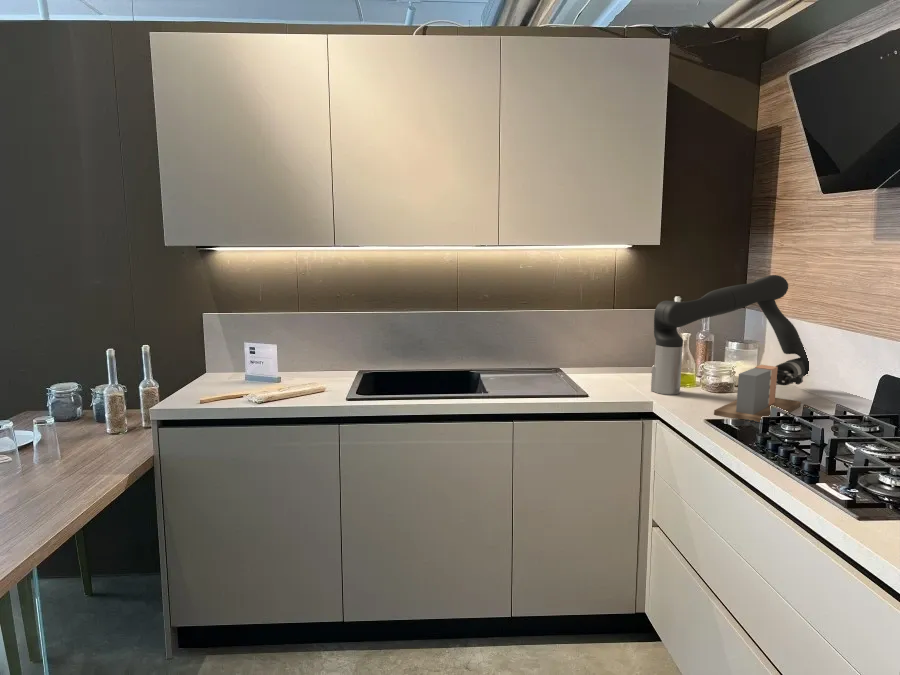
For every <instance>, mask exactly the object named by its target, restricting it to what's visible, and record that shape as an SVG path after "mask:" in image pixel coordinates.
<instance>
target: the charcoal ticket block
mask: <svg viewBox="0 0 900 675" xmlns="http://www.w3.org/2000/svg"><path fill="white" fill-rule="evenodd" d="M771 374H772V370H767V369H760V368H755V367H753V368H750V369H748V370H745V371H743V372H739V373H738V382H737V392H736V400H737V405H736V412H741V413H746V414H752V415H753V414H755V413H757V412H759V411H761V410H763V409H765V408H767V407H768V404H769V395H770V385H771V380H770V379H771Z"/></svg>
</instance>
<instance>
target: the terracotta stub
mask: <svg viewBox="0 0 900 675" xmlns="http://www.w3.org/2000/svg"><path fill="white" fill-rule="evenodd" d="M775 366H776V365H766V364H759V365H757V366H754V368H760V369H767V370H772V374H771V379H770V380H771V385H770V395H769V404H768V406H769V405H771V404H773V403H775V398H776V393H777V392H776V391H777V390H776V389H777V383H776V381H777V369H778V367H775Z"/></svg>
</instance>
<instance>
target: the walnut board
mask: <svg viewBox="0 0 900 675" xmlns="http://www.w3.org/2000/svg"><path fill="white" fill-rule="evenodd" d="M801 404H802V402H801V401H799V400H798V401H797V400H791V399H786V398H780V397H775V403H773V404H771V405H774V406H776V407H779V408H781V409H783V410H786V411H788V412H790V413H792V412H793V411H794V410H797V409H799V408H800V407H801V406H802V405H801ZM736 405H737V399H735V400H733V401H731V402H729V403H726V404H724V405H722V406H720V407H718V408H716V409H714V410H713V415H714V416H719V417H724V418H730V419H734V418H738V419H737V420H739V419H749V420H754V421H757V422H760V420H761V417H762V416H769V415H770V406H771V405H769V406H768V407H767V408H765V409H763V410H761V411H759V412H757V413H755V414H753V415H752V414H746V413H741V412H736Z"/></svg>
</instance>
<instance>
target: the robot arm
mask: <svg viewBox="0 0 900 675" xmlns="http://www.w3.org/2000/svg"><path fill="white" fill-rule="evenodd" d="M788 290H789V283H788V280H787V279H785V278H784V277H783V276H781V275H778V274H771V275H767V276H764V277H761V278H757V279H756V280H754V281H752V282H749V283H743V284H736V285H731V286H726V287H721V288H718V289H714V290H712V291H708V292H707V293H706V294H704V295H703V296H702V297H700V298H698V299H693V300H688V301H675V300H674V301H672V300H663V301H659V302H658V303H657V305H656V307H655V308H654V309H655V310H654V312H653V313H654V315H653V336H654V338H655V349H654V350H655V353H654V356H655V357H654V364H653V365H652V367H651V383H650V392H654V393H657V394H661V395H678V394H680V393H681V382H682V381H681V380H682V362H683V349H684V347H683V344H684V339H683V338H682V337H681V335H680V334H679V333H678V329H677V328H681V327H684V326H687V325H690V324H691V323H695V322H697V321H700V320H703V319H706V318H707V319H708V318H712V317H716V316H720V315H724V314H728V313H732V312H735V311H737V310H740V309H742V308H745V307H748V306H750V305H753V304H755V303H757V305H758V306H759V308H760V309H761V311H762V313H763V315H764V316H765V318H766V319H767V321H768V322H769V325H770V326H771V328H772V330H773V332H774V334H775V337H776V338H777V341H778V344H779V345H780V348H781V350H782V353H783V354H785V355H796V356H798V357H797V358H792V359H788V360H786V361H783V362H782V363H779V364H777V365H774V366H775V367H778V369H777V381H776V385H780V386H788V385H793V384H796V385H800V384H802V383H803V382H804V377H806V376H805V375H806V374H808V371H809V361H808V358H807V355H806V352H805V350H804V347H805V346H804V344H803V342H802V339H801V338H800V335H799V333H798V330H797V328H796V327H795V325H794V323H792V322H791V321H790V320H789V319H788V318H787V317H786V316H785V315H784V314H783V313H782V311H781V310H780V309H779V306H778V305H777V302H776V301H777V300H779V299H782V298H783V297H785V295H786V294H787V293H788ZM803 346H804V347H803Z"/></svg>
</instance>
